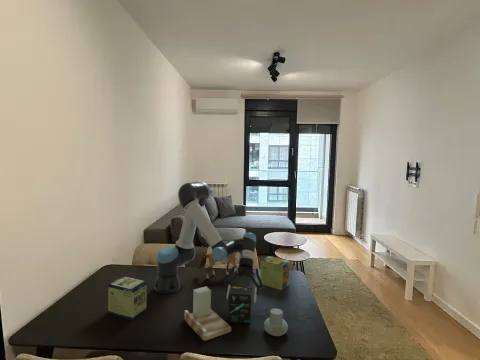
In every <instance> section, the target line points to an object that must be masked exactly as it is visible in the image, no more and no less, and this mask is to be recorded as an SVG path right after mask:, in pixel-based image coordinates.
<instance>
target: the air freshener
mask: <svg viewBox="0 0 480 360" xmlns="http://www.w3.org/2000/svg"><path fill="white" fill-rule="evenodd" d="M283 317H284V312H283V310H282V309H279V308H276V307H275V308H271V309H270V310H269V317H267V318H266V319H265V321H264V322H263V327H264V330H265V332H266V333H267V334H268V335H271V336H273V337H280V336H283V335H285V334H286V333H287V331H288V329H289V325H288V323H287V321H286V320H285V319H284V318H283Z"/></svg>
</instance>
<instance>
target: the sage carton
mask: <svg viewBox="0 0 480 360" xmlns="http://www.w3.org/2000/svg"><path fill="white" fill-rule="evenodd" d="M192 295H193V296H192V297H193V300H192V306H193V307H192V310H193V311H192V313H193V314H194V315H195V316H196V317H197V318H199V317H202V316H205V315H208V314H210V311H211V310H212V308H211V305H212V304H211V302H212V299H211V298H212V290H211V289H210V288H209V287H208V286H203V287H198V288H194V289H193V294H192Z"/></svg>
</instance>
